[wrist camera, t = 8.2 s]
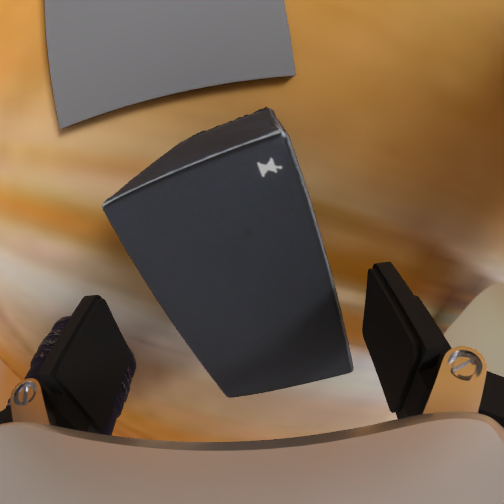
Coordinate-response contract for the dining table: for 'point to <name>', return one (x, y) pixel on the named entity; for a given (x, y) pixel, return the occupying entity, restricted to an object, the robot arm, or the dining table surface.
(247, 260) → the small box
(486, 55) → the dining table surface
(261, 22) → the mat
